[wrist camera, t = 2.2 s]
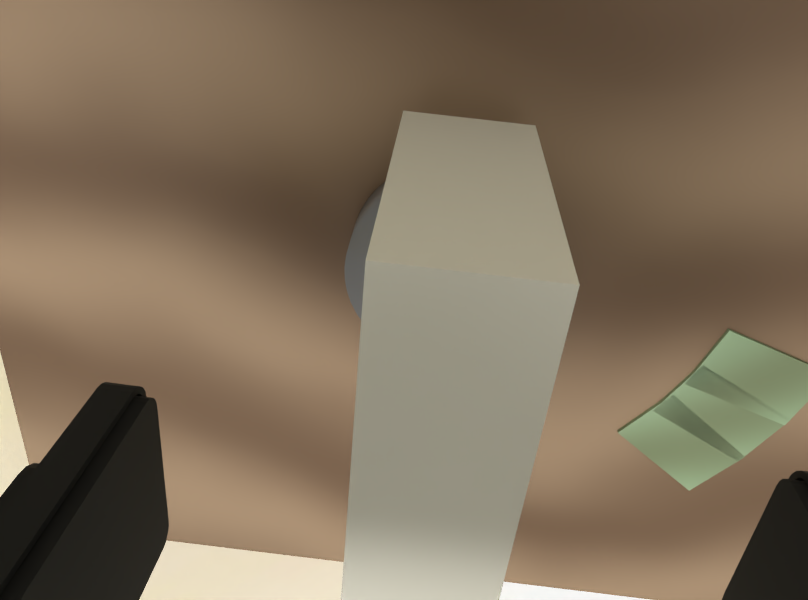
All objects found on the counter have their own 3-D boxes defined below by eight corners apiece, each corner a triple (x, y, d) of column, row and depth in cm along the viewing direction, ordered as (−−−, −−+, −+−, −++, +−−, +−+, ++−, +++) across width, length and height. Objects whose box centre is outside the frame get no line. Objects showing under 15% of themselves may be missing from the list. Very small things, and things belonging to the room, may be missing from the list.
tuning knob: (361, 88, 14) (284, 250, 8) (577, 112, 14) (661, 294, 8) (334, 536, 21) (282, 803, 15) (479, 553, 21) (485, 829, 15)
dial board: (-148, -482, 12) (-228, -527, 11) (1238, -341, 12) (1342, -368, 10) (67, 490, 24) (43, 528, 23) (750, 573, 24) (767, 616, 22)
